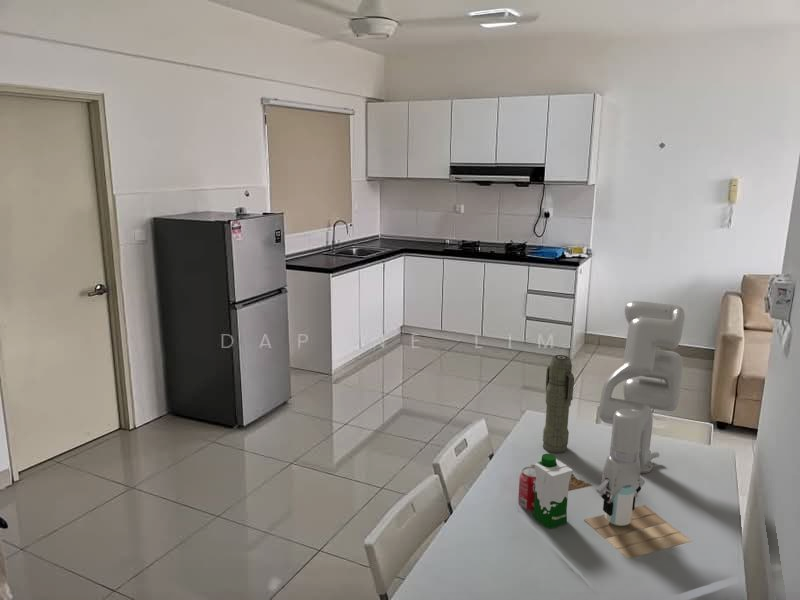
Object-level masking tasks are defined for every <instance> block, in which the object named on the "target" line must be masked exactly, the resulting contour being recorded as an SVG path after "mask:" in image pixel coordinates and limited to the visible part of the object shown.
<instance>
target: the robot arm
mask: <svg viewBox="0 0 800 600" xmlns="http://www.w3.org/2000/svg"><path fill="white" fill-rule="evenodd" d="M624 316H625V319H626V321H627V323H628V328H627V335H626V341H625V348H624V354H623V360H622V361H623V362H622V364H621V366H620V367H618V368H616V369H615V370H614V371H613V372H612V373H611V374H610V375H609V376H608V377H607V379H606V380H605V382H604V383H603V386H602V390H601V397H600V402H599V407H598V415H599V418H600V420H601V421H602V422H603V423H606V424H610V425H612V429H611V438H610V439H611V440H610V449H609V456H607V457H606V459H605V462H604V466H603V471H602V475H601V476H602V477H601V484H600V485H599V486H598V487H597V488H596V492H597V494H598V495H599V497H600V498H602V500H603V506H602V511H604V513H605V512H606V513H607V514H608V515H609V516H611V515H612V512H613V503H612V500H613V498H614V495H615V494H617V493H618V492H619V491H620V490H621V488H627V487H630V486H632V488H633V489H634V497H633V507H632V510H634V507H636V506H635V504H636V498H638V496H639V492H641V489H642V487H643V486H644V485H645V484H646V481H645V480H644V479H643V478H642V477H641V474H647V473H649V472H651V471H653V467H654V465H653V463H652V460H653V459H656V458H659V457H660V453H659V452H658V451H653V452H651V450H650V449H651V440H652V432H653V422H654V421H653V411H652V410H658V411H664V412H673V411H675V410H677V408H678V407H679V406H678V405H679V402H680V395H681V386H682V377H683V365H684V364H683V357H682V356H681V354H680V353H678V352H675V351H672V350H674V349H677V348H678V347H679V345H680V343H681V339H682V336H683V330H684V325H685V311H684V309H683V307H681V306H679V305H675V304H667V303H658V302H652V301H651V302H650V301H643V300H642V301H639V300H637V301H636V300H634V301H629V302H627V303H626V304H625V307H624ZM661 348H663V349H661ZM664 349H666V350H664ZM667 349H671V350H667ZM645 377H646V378H645ZM651 378H652V379H651ZM656 379H659V380H656ZM662 380H663V381H662ZM622 382H623V385H622V398H623V399H622V398H621V399H620V398H615V397H612V395H613V392H614V389H615V387H616V386H618V384H620V383H622ZM609 493H610V496H609V497H608V494H609Z"/></svg>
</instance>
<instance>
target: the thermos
mask: <svg viewBox="0 0 800 600" xmlns="http://www.w3.org/2000/svg"><path fill="white" fill-rule="evenodd" d="M572 368H573V365H572V360H571V358H570V357H569V356H567V355H563V354H556V355H554V356H552V358H551V360H550V362H549V366H547V368H546V375H545V377H546V378H545V392H546V393H545V404H546V412H545V413H546V414H545V425H544V428H543V431H542V441H543V442H542V443H543V444H542V449H543V450H544V451H546V452H548V453H550V454H564V453H566V452H567V451H568V444H569V434H570V433H569V429H568V426H569V413H570V407H571V406H572V401H573V399H574V397H573V394H574V386H575V385H574V384H575V376H574V373H572Z"/></svg>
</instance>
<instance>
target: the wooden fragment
mask: <svg viewBox="0 0 800 600" xmlns="http://www.w3.org/2000/svg"><path fill="white" fill-rule="evenodd" d="M530 467H535V465H534V464H530ZM592 486H594V485H593V484H591V483H588V482H587V483H586V482H585V481H584V480H582V479H578V478H577V477H575V475H574V474H573V473H572V475H571V478H570V482H569V487H568V492H569V491H570V492H571V491H575V490H580V489H583V488H589V487H592Z"/></svg>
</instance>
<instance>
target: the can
mask: <svg viewBox="0 0 800 600" xmlns="http://www.w3.org/2000/svg"><path fill="white" fill-rule="evenodd" d="M609 496H610V493H609V494H608V497H609ZM633 497H634V489H633V488H632V486H630V487H627V488H621V490H620V491H619V492H618V493H617V494H615V495H614V498H613V500H612V503H613V512H612V515H611V516H609V515H608V514H607V513H606V512H604V515H605V518H606V519H607V520H608V521H609V522H610V523H612V524H614V525H617V526H624V525H628V524H629V523H630V522H631V516H632V507H633Z"/></svg>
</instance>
